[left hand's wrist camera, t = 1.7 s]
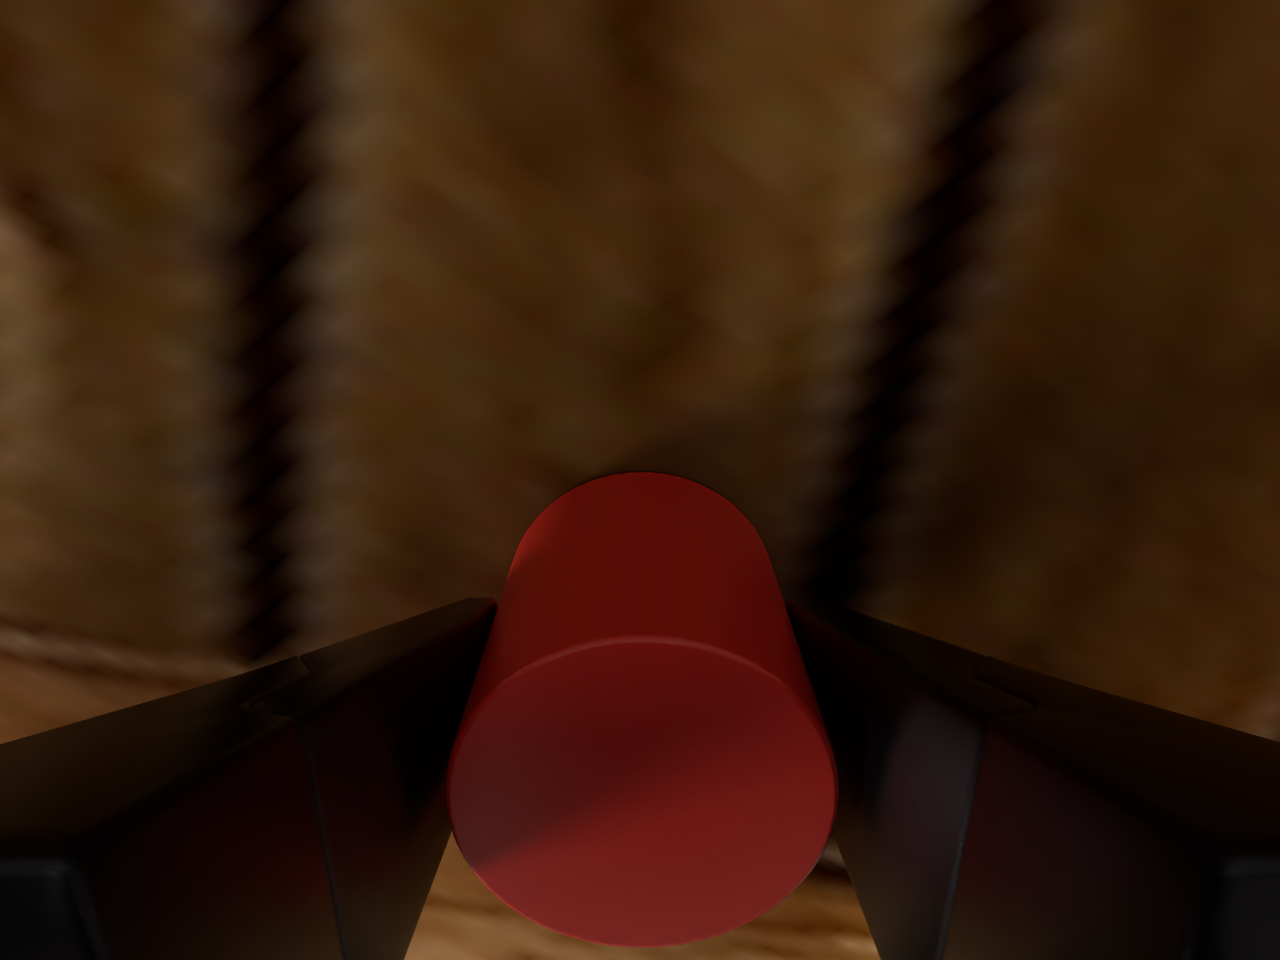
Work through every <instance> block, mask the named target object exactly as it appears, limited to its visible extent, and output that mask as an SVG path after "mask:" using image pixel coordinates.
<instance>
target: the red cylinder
mask: <svg viewBox="0 0 1280 960" xmlns="http://www.w3.org/2000/svg"><path fill="white" fill-rule="evenodd" d="M839 790H840V789H839V776H838V767H837V763H836V759H835V755H834V751H833V748H832V745H831V742H830V739H829V736H828V733H827V730H826V727H825V724H824V721H823V718H822V715H821V712H820V709H819V706H818V703H817V700H816V697H815V694H814V691H813V688H812V685H811V682H810V679H809V676H808V673H807V670H806V667H805V664H804V661H803V658H802V655H801V652H800V649H799V646H798V643H797V640H796V637H795V634H794V631H793V628H792V625H791V622H790V619H789V616H788V613H787V610H786V607H785V604H784V601H783V598H782V595H781V592H780V589H779V586H778V583H777V580H776V577H775V574H774V571H773V568H772V565H771V562H770V559H769V556H768V553H767V551H766V548H765V546H764V544H763V541H762V540H761V538H760V536H759V535H758V533H757V531H756V530H755V528H754V526H753V525H752V524H751V523H750V522H749V520H748V519H747V518H746V517H745V515H744V514H743V513H742V512H741V511H740V510H738V509H737V508H736V507H735V506H734V505H733V504H732V503H731V502H729V501H728V500H727V499H725V498H724V497H722V496H721V495H719V494H718V493H717V492H715V491H713V490H711V489H709V488H707V487H705V486H703V485H701V484H699V483H696V482H693V481H691V480H688V479H685V478H681V477H677V476H673V475H668V474H661V473H652V472H629V473H622V474H615V475H610V476H606V477H602V478H599V479H595V480H592V481H590V482H587V483H585V484H583V485H580V486H578V487H576V488H574V489H572V490H571V491H569V492H567V493H565V494H564V495H562V496H561V497H559V498H558V499H557V500H555V501H554V502H553V503H551V504H550V505H549V506H548V507H547V508H546V509H545V510H544V511H543V512H542V513H541V514H540V515H539V516H538V517H537V518H536V519H535V520H534V522H533V523H532V524H531V526H530V527H529V528H528V530H527V531H526V533H525V535H524V537H523V538H522V540H521V542H520V544H519V546H518V549H517V551H516V554H515V557H514V559H513V562H512V565H511V569H510V572H509V575H508V578H507V581H506V584H505V587H504V590H503V593H502V596H501V599H500V602H499V605H498V608H497V611H496V615H495V618H494V621H493V624H492V627H491V630H490V633H489V636H488V639H487V642H486V645H485V648H484V651H483V654H482V657H481V661H480V664H479V667H478V670H477V673H476V676H475V679H474V682H473V685H472V688H471V691H470V694H469V697H468V700H467V703H466V707H465V710H464V713H463V716H462V719H461V722H460V725H459V728H458V731H457V734H456V737H455V740H454V743H453V746H452V750H451V753H450V756H449V761H448V766H447V771H446V783H445V798H446V806H447V813H448V818H449V822H450V825H451V828H452V831H453V835H454V838H455V840H456V842H457V844H458V847H459V849H460V851H461V853H462V855H463V857H464V858H465V860H466V861H467V863H468V864H469V866H470V867H471V869H472V870H473V872H474V873H475V875H476V876H477V877H478V878H479V879H480V880H481V881H482V882H483V883H484V885H485V886H486V887H487V888H488V889H489V890H490V891H491V892H492V893H493V894H495V895H496V896H497V897H498V898H499V899H500V900H502V901H503V902H504V903H505V904H506V905H508V906H509V907H511V908H512V909H514V910H515V911H517V912H518V913H520V914H521V915H523V916H524V917H526V918H528V919H530V920H532V921H534V922H536V923H538V924H539V925H541V926H543V927H546V928H548V929H551V930H553V931H556V932H558V933H561V934H563V935H566V936H570V937H573V938H577V939H580V940H584V941H588V942H593V943H599V944H605V945H610V946H622V947H663V946H672V945H681V944H686V943H691V942H695V941H700V940H704V939H708V938H711V937H714V936H717V935H720V934H724V933H726V932H729V931H731V930H733V929H736V928H738V927H740V926H743V925H745V924H747V923H749V922H751V921H752V920H754V919H756V918H758V917H760V916H761V915H763V914H765V913H767V912H768V911H769V910H771V909H772V908H773V907H775V906H776V905H778V904H779V903H780V902H782V901H783V900H784V899H785V898H786V897H788V896H789V895H790V894H791V893H792V892H793V891H794V890H795V889H796V888H797V887H798V886H799V885H800V884H801V883H802V882H803V881H804V879H805V878H806V877H807V876H808V875H809V873H810V872H811V871H812V870H813V868H814V867H815V865H816V863H817V862H818V860H819V859H820V857H821V855H822V854H823V852H824V850H825V848H826V845H827V843H828V841H829V838H830V836H831V834H832V830H833V826H834V822H835V819H836V815H837V811H838V801H839Z"/></svg>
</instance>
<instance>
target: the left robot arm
mask: <svg viewBox="0 0 1280 960" xmlns="http://www.w3.org/2000/svg"><path fill="white" fill-rule="evenodd" d="M785 607H786V610H787V613H788V616H789V619H790V622H791V625H792V628H793V631H794V634H795V637H796V640H797V643H798V646H799V649H800V652H801V655H802V658H803V661H804V664H805V667H806V670H807V673H808V676H809V679H810V682H811V685H812V688H813V691H814V694H815V697H816V700H817V703H818V706H819V709H820V712H821V715H822V718H823V721H824V724H825V727H826V730H827V733H828V736H829V739H830V742H831V745H832V748H833V751H834V755H835V759H836V763H837V767H838V776H839V789H840V790H839V801H838V811H837V815H836V819H835V822H834V826H833V830H832V831H833V834H834V837H835V839H836V842H837V845H838V847H839V850H840V853H841V855H842V858H843V861H844V863H845V866H846V868H847V871H848V874H849V876H850V879H851V882H852V884H853V887H854V890H855V892H856V895H857V898H858V900H859V903H860V906H861V908H862V911H863V913H864V916H865V919H866V921H867V924H868V927H869V929H870V932H871V935H872V937H873V940H874V943H875V945H876V948H877V951H878V953H879V956H880V958H881V960H1280V742H1277V741H1273V740H1270V739H1266V738H1263V737H1259V736H1256V735H1252V734H1249V733H1245V732H1242V731H1238V730H1235V729H1231V728H1228V727H1224V726H1221V725H1217V724H1214V723H1210V722H1207V721H1203V720H1200V719H1197V718H1193V717H1190V716H1186V715H1183V714H1179V713H1176V712H1172V711H1169V710H1165V709H1162V708H1158V707H1155V706H1151V705H1148V704H1144V703H1141V702H1137V701H1134V700H1130V699H1127V698H1123V697H1120V696H1116V695H1113V694H1109V693H1106V692H1102V691H1099V690H1095V689H1092V688H1089V687H1085V686H1082V685H1079V684H1075V683H1072V682H1069V681H1065V680H1062V679H1059V678H1055V677H1052V676H1049V675H1045V674H1042V673H1039V672H1036V671H1033V670H1030V669H1027V668H1024V667H1021V666H1017V665H1014V664H1011V663H1008V662H1005V661H1002V660H999V659H996V658H993V657H991V656H987V657H986V658H985V656H984V655H981V654H978V653H976V652H973V651H970V650H967V649H964V648H961V647H958V646H955V645H952V644H949V643H946V642H943V641H940V640H937V639H934V638H931V637H928V636H926V635H923V634H920V633H917V632H914V631H911V630H908V629H905V628H902V627H899V626H896V625H893V624H890V623H887V622H884V621H881V620H879V619H876V618H873V617H870V616H867V615H864V614H861V613H858V612H855V611H852V610H849V609H846V608H843V607H840V606H837V605H834V604H831V603H829V602H826V601H823V600H820V599H817V598H790V599H788V600H787V602H786V605H785ZM497 608H498V604H497V601H496V600H495V599H494V598H467V599H464V600H461V601H458V602H455V603H452V604H449V605H446V606H443V607H440V608H438V609H435V610H432V611H429V612H426V613H423V614H420V615H417V616H414V617H411V618H408V619H405V620H403V621H400V622H397V623H394V624H391V625H388V626H385V627H382V628H379V629H376V630H373V631H370V632H368V633H365V634H362V635H359V636H356V637H353V638H350V639H347V640H344V641H341V642H338V643H335V644H333V645H330V646H327V647H324V648H321V649H318V650H315V651H312V652H309V653H306V654H303V655H301V656H300V657H298V656H294V657H291V658H289V659H286V660H283V661H280V662H277V663H274V664H271V665H268V666H265V667H262V668H258V669H255V670H252V671H249V672H246V673H243V674H240V675H237V676H233V677H230V678H227V679H224V680H220V681H217V682H214V683H210V684H207V685H204V686H200V687H197V688H194V689H190V690H187V691H183V692H180V693H176V694H173V695H169V696H166V697H163V698H159V699H156V700H152V701H149V702H145V703H142V704H138V705H135V706H131V707H128V708H125V709H121V710H118V711H114V712H111V713H107V714H104V715H100V716H97V717H93V718H90V719H86V720H83V721H80V722H76V723H73V724H69V725H66V726H62V727H59V728H55V729H52V730H48V731H45V732H42V733H38V734H35V735H31V736H28V737H24V738H21V739H17V740H14V741H10V742H7V743H3V744H0V960H404V958H405V955H406V952H407V950H408V947H409V944H410V942H411V939H412V936H413V934H414V931H415V928H416V926H417V923H418V920H419V917H420V915H421V912H422V909H423V907H424V904H425V901H426V899H427V896H428V893H429V891H430V888H431V885H432V883H433V880H434V877H435V875H436V872H437V869H438V867H439V864H440V861H441V858H442V856H443V853H444V850H445V848H446V845H447V842H448V840H449V837H450V834H451V832H452V828H451V825H450V822H449V818H448V813H447V806H446V798H445V783H446V771H447V766H448V761H449V756H450V753H451V750H452V746H453V743H454V740H455V737H456V734H457V731H458V728H459V725H460V722H461V719H462V716H463V713H464V710H465V707H466V703H467V700H468V697H469V694H470V691H471V688H472V685H473V682H474V679H475V676H476V673H477V670H478V667H479V664H480V661H481V657H482V654H483V651H484V648H485V645H486V642H487V639H488V636H489V633H490V630H491V627H492V624H493V621H494V618H495V615H496V611H497Z"/></svg>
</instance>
